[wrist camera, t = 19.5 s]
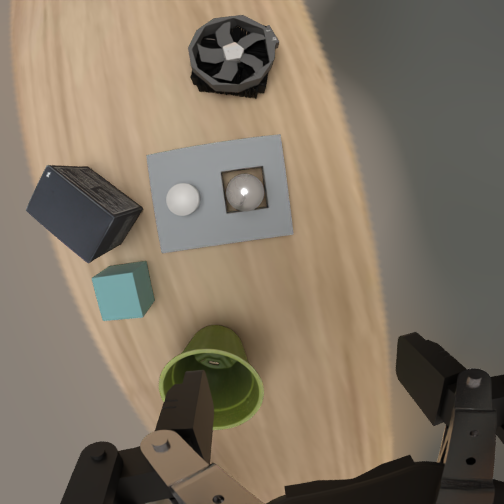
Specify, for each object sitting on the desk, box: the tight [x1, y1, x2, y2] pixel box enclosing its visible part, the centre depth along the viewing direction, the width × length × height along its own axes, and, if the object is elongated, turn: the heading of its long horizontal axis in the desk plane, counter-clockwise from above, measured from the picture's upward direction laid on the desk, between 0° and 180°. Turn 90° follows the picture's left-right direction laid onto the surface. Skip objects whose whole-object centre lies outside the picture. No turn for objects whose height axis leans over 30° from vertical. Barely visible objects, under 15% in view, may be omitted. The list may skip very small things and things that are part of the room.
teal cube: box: [92, 261, 155, 321], centre depth 39 cm, size 6×6×6 cm
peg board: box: [146, 134, 293, 253], centre depth 37 cm, size 12×16×5 cm
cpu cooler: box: [188, 15, 279, 98], centre depth 34 cm, size 10×6×10 cm
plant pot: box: [159, 325, 264, 430], centre depth 39 cm, size 12×12×11 cm
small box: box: [26, 165, 143, 263], centre depth 35 cm, size 11×6×10 cm, turn 54°
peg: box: [226, 174, 264, 211], centre depth 35 cm, size 4×4×10 cm
